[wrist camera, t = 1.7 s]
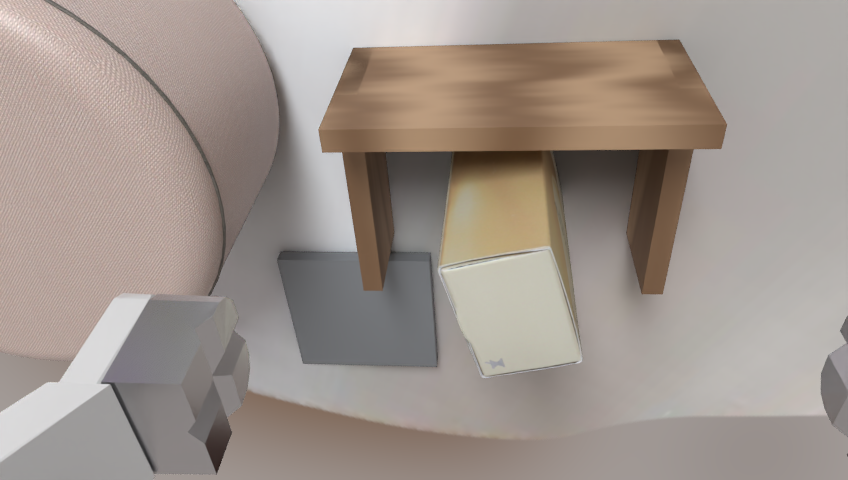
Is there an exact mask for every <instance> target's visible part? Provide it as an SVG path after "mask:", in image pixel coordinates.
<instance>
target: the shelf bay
mask: <svg viewBox="0 0 848 480" xmlns="http://www.w3.org/2000/svg"><path fill="white" fill-rule="evenodd" d="M726 127H727V124H726V122H725V120H724V118H723V116H722V115H721V113H720V111H719V109H718V108H717V106H716V104H715V102H714V100H713V99H712V97H711V95H710V93H709V92H708V90H707V88H706V86H705V84H704V83H703V81H702V79H701V77H700V76H699V74H698V72H697V70H696V68H695V67H694V65H693V63H692V61H691V60H690V58H689V56H688V54H687V52H686V51H685V49H684V47H683V45H682V44H681V42H680V40H649V41H610V42H570V43H531V44H492V45H453V46H414V47H374V48H353V50H352V52H351V55H350V57H349V59H348V62H347V64H346V66H345V69H344V71H343V73H342V76H341V78H340V80H339V83H338V85H337V87H336V90H335V92H334V94H333V97H332V99H331V101H330V104H329V106H328V108H327V111H326V113H325V115H324V118H323V120H322V123H321V125H320V127H319V136H320V142H321V147H322V153H323V152H342V154H343V161H344V167H345V174H346V180H347V186H348V193H349V199H350V206H351V212H352V219H353V225H354V232H355V238H356V245H357V251H358V258H359V264H360V270H361V277H362V283H363V290H364V291H383V287H384V282H385V277H386V272H387V267H388V261H389V256H390V251H391V246H392V241H393V236H394V225H393V216H392V207H391V198H390V189H389V180H388V171H387V161H386V152H431V151H539V150H639V156H638V162H637V169H636V175H635V181H634V188H633V194H632V201H631V207H630V213H629V220H628V226H627V237H628V241H629V245H630V249H631V253H632V257H633V261H634V265H635V269H636V273H637V277H638V281H639V285H640V289H641V293H642V294H663V290H664V285H665V281H666V276H667V271H668V267H669V262H670V257H671V253H672V248H673V243H674V238H675V234H676V229H677V224H678V220H679V215H680V210H681V206H682V201H683V196H684V192H685V187H686V182H687V177H688V173H689V168H690V163H691V159H692V154H693V149H721V148H722V143H723V139H724V135H725V131H726Z"/></svg>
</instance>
